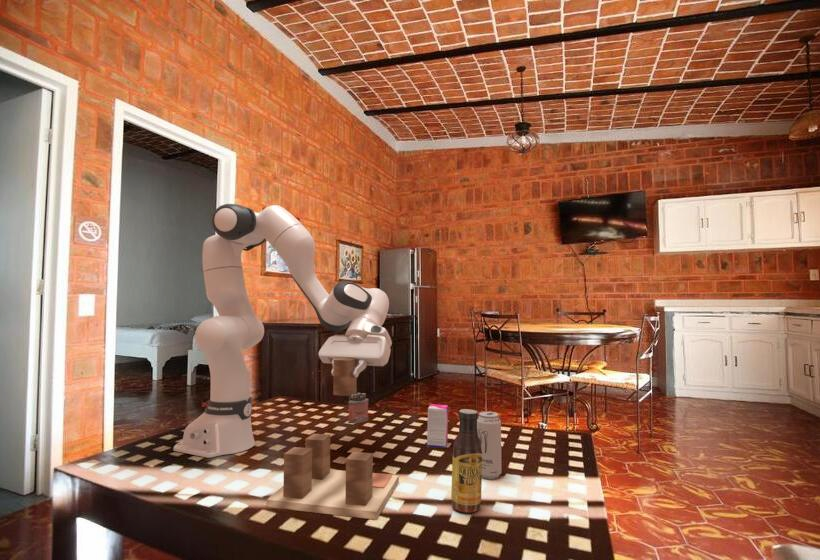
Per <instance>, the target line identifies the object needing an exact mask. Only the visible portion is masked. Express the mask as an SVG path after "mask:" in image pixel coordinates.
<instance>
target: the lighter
mask: <svg viewBox="0 0 820 560" xmlns="http://www.w3.org/2000/svg"><path fill="white" fill-rule="evenodd" d="M366 394H367V393H365V392H363V393H361V392H357V393H354V394H352V395H350V399H352V400H349V401H348V421H347V422H348V424H351V423H352V424H359V423H364V422H367V421H369V398H366V396H367V395H366Z"/></svg>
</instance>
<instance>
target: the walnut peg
mask: <svg viewBox="0 0 820 560" xmlns="http://www.w3.org/2000/svg"><path fill="white" fill-rule="evenodd" d="M357 366H358V365H357V359H352V358H339V359H335V360H333V364H332V369H333V375H332V376H333V378H332V380H333V382H332V383H333V386H332V387H333V389H332V390H333V392H332V394H333V396H344V397H350V396H351V395H352V394H357V393H358V392H357V391H358V389H357V383H358V382H357V378H358V377H357V378H355V377H352V376H351V375H350V373H351V371H352V368H356V367H357Z"/></svg>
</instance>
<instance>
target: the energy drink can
mask: <svg viewBox="0 0 820 560" xmlns="http://www.w3.org/2000/svg"><path fill="white" fill-rule="evenodd" d="M477 434H478V437H479V439H480V441H481V448H482V479H485V478H486V479H485V480H496V479H495V478H497V479H499V478H498V477H500V476H501V474H502V469H503V468H502V421H501V419H500V417H499V412H498V413H497V412H493V411H480V412H478V419H477ZM487 478H488V479H487Z"/></svg>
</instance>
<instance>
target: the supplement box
mask: <svg viewBox="0 0 820 560" xmlns="http://www.w3.org/2000/svg"><path fill="white" fill-rule="evenodd" d="M426 429H427V430H426V437H427V438H426V441H427V442H426V447H427V448H437V449H446V447H447V445H448V439H449V437H448V436H449V435H448V434H449V405H447V404H435V403H434V404H433V403H431V404H429V406H428V408H427V428H426Z"/></svg>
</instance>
